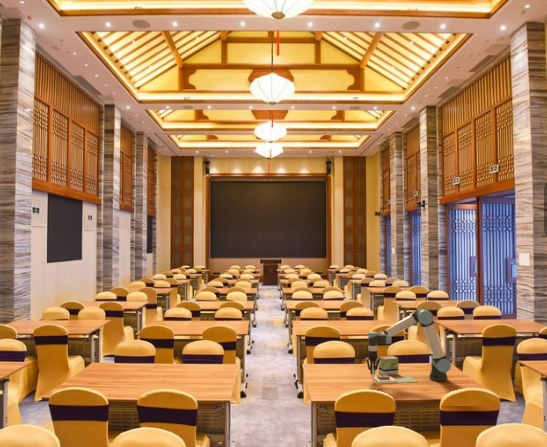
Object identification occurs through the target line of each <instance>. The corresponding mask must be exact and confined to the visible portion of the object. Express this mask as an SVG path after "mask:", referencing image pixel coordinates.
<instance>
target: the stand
mask: <svg viewBox="0 0 547 447" xmlns="http://www.w3.org/2000/svg"><path fill="white" fill-rule="evenodd" d="M388 376H389V377H390V379H388V380H379V379H378V378H377V376H374V378H372V380H374V381H375V382H376V383H377V384H379V385H381V384H397V380H395V379H394V378H395V377H392V376H391V375H388Z"/></svg>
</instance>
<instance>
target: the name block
mask: <svg viewBox="0 0 547 447" xmlns="http://www.w3.org/2000/svg"><path fill="white" fill-rule="evenodd" d="M389 376H390V375H382V374H381V375H380V374H379V375H376V377H377V378H378V379H379V380H388V379H390V377H389Z"/></svg>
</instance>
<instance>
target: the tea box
mask: <svg viewBox="0 0 547 447" xmlns="http://www.w3.org/2000/svg"><path fill="white" fill-rule="evenodd" d="M378 358H380V361H379V364H378V374H379V375H380V374H381V375H387V376H391V375H392V376H393V375H399V357H397V356H394V355H388V356H387V355H386V356H378Z"/></svg>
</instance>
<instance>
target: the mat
mask: <svg viewBox="0 0 547 447" xmlns="http://www.w3.org/2000/svg"><path fill="white" fill-rule="evenodd" d="M393 378H394V379H395V380H397V383H398V384H400V383H401V384H403V383H418V381H417V379H414V378H412V377H411V376H403V377H402V376H401V377H400V376H399V377H393ZM397 383H396V384H397Z"/></svg>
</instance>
